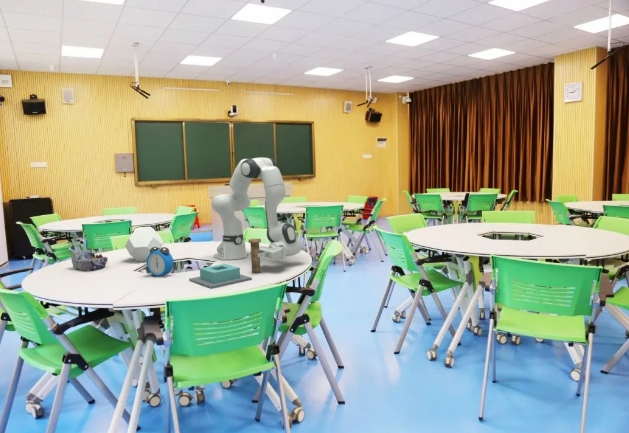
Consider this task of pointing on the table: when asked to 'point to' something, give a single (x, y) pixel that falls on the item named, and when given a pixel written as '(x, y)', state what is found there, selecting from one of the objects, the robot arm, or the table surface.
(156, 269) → the alarm clock
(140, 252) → the geometric form
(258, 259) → the pin
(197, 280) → the socket board
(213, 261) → the table surface
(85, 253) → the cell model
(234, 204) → the robot arm
